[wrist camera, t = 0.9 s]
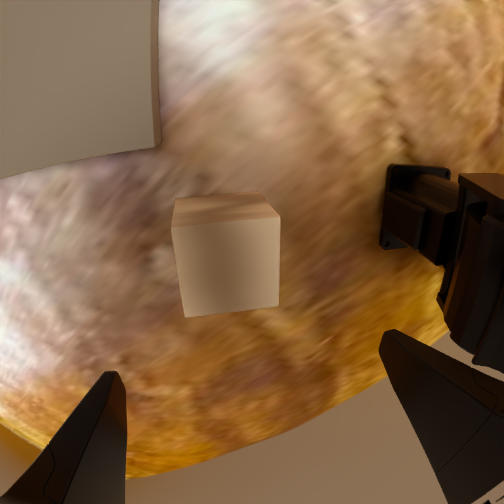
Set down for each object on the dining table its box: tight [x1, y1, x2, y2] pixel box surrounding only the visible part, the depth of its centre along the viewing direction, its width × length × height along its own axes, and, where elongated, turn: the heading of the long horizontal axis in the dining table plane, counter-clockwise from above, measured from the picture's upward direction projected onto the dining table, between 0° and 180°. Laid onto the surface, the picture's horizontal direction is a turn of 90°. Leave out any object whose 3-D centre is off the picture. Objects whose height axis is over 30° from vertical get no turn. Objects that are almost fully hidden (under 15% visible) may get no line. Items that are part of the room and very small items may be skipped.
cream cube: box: [171, 191, 280, 318], centre depth 17 cm, size 5×5×5 cm
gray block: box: [0, 0, 162, 179], centre depth 11 cm, size 12×12×4 cm
